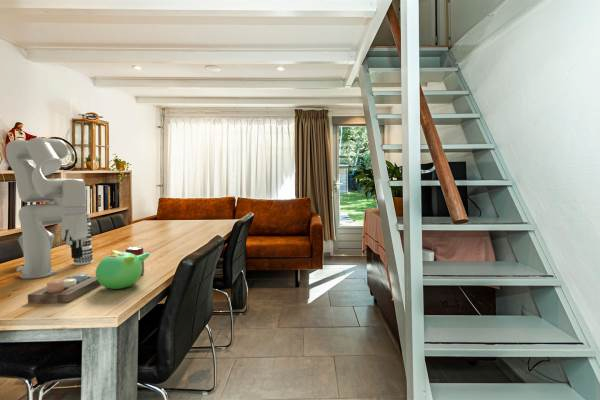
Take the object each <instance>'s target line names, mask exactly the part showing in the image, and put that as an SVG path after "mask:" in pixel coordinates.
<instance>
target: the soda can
mask: <svg viewBox="0 0 600 400" xmlns="http://www.w3.org/2000/svg"><path fill="white" fill-rule="evenodd" d="M144 250H145V249H144V247H142V246H132V247H131V246H130V247H127V248H126V249H125V251H124V252H128V253H132V254H134V255H136V256H138V255H141V254H144V253H145V252H144ZM144 274H145V260H144V261H143V262H142V273H141V275H140V276H142V275H144Z"/></svg>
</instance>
